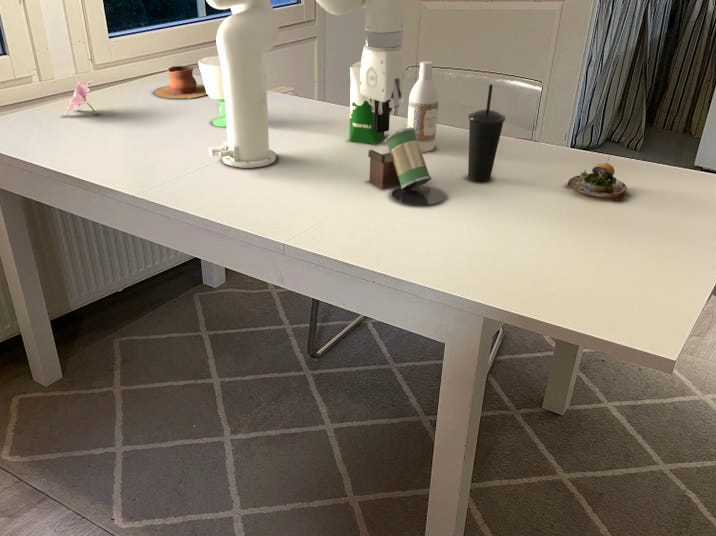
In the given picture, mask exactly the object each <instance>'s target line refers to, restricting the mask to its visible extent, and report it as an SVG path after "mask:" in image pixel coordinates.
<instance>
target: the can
mask: <svg viewBox="0 0 716 536" xmlns="http://www.w3.org/2000/svg"><path fill="white" fill-rule="evenodd" d="M415 132H416V130H415V128H407V127H406V128H403V129H400V130H397V131H395V132H393V133H391V134H390V135H388V136H387V137H385V139H384V143H386V144H387V147H388V151H389V153H390V154H391V157H392V160H393V163H394V166H395V169H396V172H397V175H398V178H399V181H400V184H401V185H400V187H401V190H402V191H406V190H410V189H414V188H417V187H419V186H425V185H426V184H427V183H430V182H431V181H432V176H431V175H430V173H429V170H428V166H427V163H426V160H425V157H424V154H423V152H422V151H421V148H420V145H419V142H418V139H417V136H416V133H415Z"/></svg>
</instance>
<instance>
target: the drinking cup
mask: <svg viewBox="0 0 716 536" xmlns="http://www.w3.org/2000/svg"><path fill="white" fill-rule="evenodd" d="M493 87H494V85H493V84H489V85H488V93H487V101H486V108H485V109H479V110H476V111H474V112H470V113H469V114H468V116H467V117H468V120H469V127H468V130H469V131H468V158H467V160H468V161H467V179H468V180H469V182H472V183H477V184H478V183H479V184H483V183H488V182H489V181H490V180H491V176H492V172H493V169H494V164H495V159H496V155H497V151H498V147H499V143H500V138H501V134H502V129H503V126H504V125H503V124H504V122H505V121H506V116H505V115H504V114H503V113H500V112H498V111H497V110H493V109H491V101H492V94H493V93H492V92H493Z"/></svg>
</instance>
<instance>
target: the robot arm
mask: <svg viewBox="0 0 716 536" xmlns="http://www.w3.org/2000/svg"><path fill="white" fill-rule="evenodd" d="M205 1H206V2H207V4H208V5H209V6H210V7H212V8H214V9H216V10H228V9H230V10H231V13H232V14H230V15H229V16H227V17H225V19H223V21H222V22H221V23H220V25H219V27H218V29H217V32H216V33H217V34H216V48H217V53H218V56H219V57H220V61H221V66H222V73H223V83H224V94H225V107H226V121H227V127H226V133H227V134H226V135H227V140H223V144H221V146H218V147H217V146H216V147H209V148H208V154H209V157H210V158H213V157H217V156H218V157H219V158H220V159H222V161H223V163H224V164H226V165H228V166H230V167H234V168H243V169H251V168H253V169H254V168H260V167H265V166H268V165H271V164H273V163H274V162H275V161H276V160H277V154H276V152H275V151H274V150H272V149H270V139H269V138H270V137H269V115H268V112H269V111H268V91H267V78H266V71H265V67H264V63H263V59H262V55H263V54H265V53H267V52H269V51H271V50H272V49H273V48H274V47H275V46H276V44H277V42H278V40H279V36H280V27H279V22H278V18H277V16H276V13H275V11H274V7H273V4H272V2H271V0H205ZM315 2H316V3H317V4H318V5H319V6H320V7H321V8H322V9H323V10H324V11H326V12H327V13H328V14H331V15H333V16H338V17H339V16H344V15H347V14H349V13H351V12H354V11H357V10H360V9H364V10H365V13H364V19H365V21H364V45H363V47H362V48H363V49H362V53H361V58H360V59H361V60H360V61H361V69H360V92H361V94H362V95H364V96H366V98H367V99H368V100H369V101H370V102H371V105H372V112H375V113H373V131H374V132H377V133H381V132H385V133H386V132H389V131H390V118H391V113H392V111H393V109H395V108H399V107H400V101H399V100H401V98H402V97H403V93H404V79H405V77H404V76H405V75H404V73H405V72H404V56H403V49H402V48H403V31H404V30H403V28H404V3H405V0H315Z"/></svg>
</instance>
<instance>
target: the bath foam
mask: <svg viewBox="0 0 716 536" xmlns="http://www.w3.org/2000/svg"><path fill="white" fill-rule="evenodd" d="M433 67H434V64H433V62H432V61H428V60H423V61H421V62H420V63H419V72H418V80H417V81H416V82H415V83H414V85H413V87H412V89H411V90H410V93H409V98H408V108H407V109H408V111H407V124H406V125H407V126H406V128H415V130H416V132H415V133H416V136H417V139H418V142H419V145H420V148H421V151H422V153H426V152H431V151H432V150H434V149H435V142H436V131H437V120H438V109H439V108H438V107H439V93H438V89H437V87H436V85H435V83H434V81H433V78H432V77H433Z"/></svg>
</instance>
